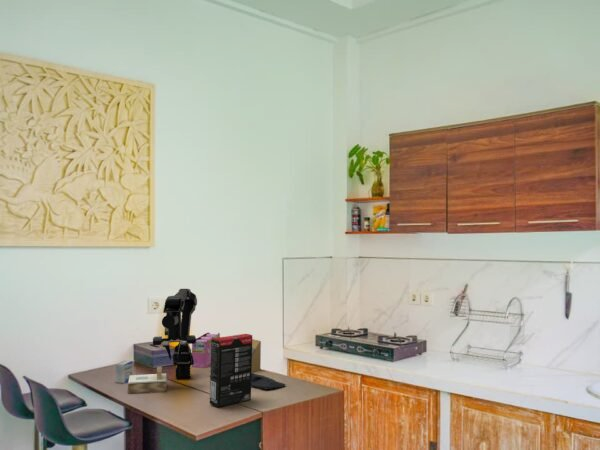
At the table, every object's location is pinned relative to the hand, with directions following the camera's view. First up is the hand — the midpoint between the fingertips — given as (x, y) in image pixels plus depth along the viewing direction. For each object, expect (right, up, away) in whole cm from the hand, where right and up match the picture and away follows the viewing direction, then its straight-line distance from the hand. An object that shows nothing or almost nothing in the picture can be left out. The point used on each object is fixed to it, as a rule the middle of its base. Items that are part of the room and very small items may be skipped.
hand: (174, 359), depth 262 cm
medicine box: (-26, -13, +11) cm, 30 cm away
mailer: (-11, -13, -3) cm, 17 cm away
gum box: (+7, -13, +47) cm, 49 cm away
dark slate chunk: (+39, -13, +6) cm, 41 cm away
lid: (-11, -8, -3) cm, 14 cm away
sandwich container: (+28, -13, +28) cm, 42 cm away
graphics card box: (+28, -13, -21) cm, 37 cm away
